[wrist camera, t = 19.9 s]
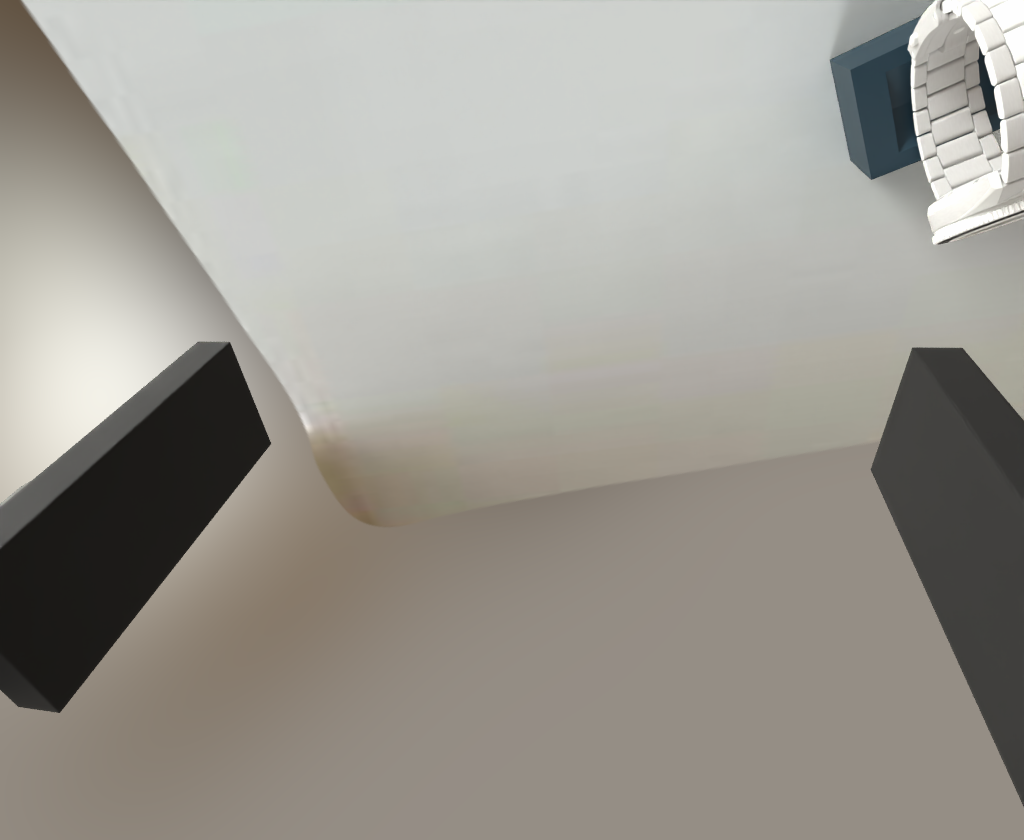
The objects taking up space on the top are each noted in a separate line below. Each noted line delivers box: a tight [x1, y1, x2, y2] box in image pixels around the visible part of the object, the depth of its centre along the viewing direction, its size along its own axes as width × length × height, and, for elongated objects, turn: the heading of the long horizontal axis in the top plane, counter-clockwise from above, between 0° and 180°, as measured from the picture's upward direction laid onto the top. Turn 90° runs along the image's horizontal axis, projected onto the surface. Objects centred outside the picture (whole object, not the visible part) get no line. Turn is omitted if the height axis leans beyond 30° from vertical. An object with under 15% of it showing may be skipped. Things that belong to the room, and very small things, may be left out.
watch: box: [830, 0, 1024, 244], centre depth 20 cm, size 6×8×11 cm
